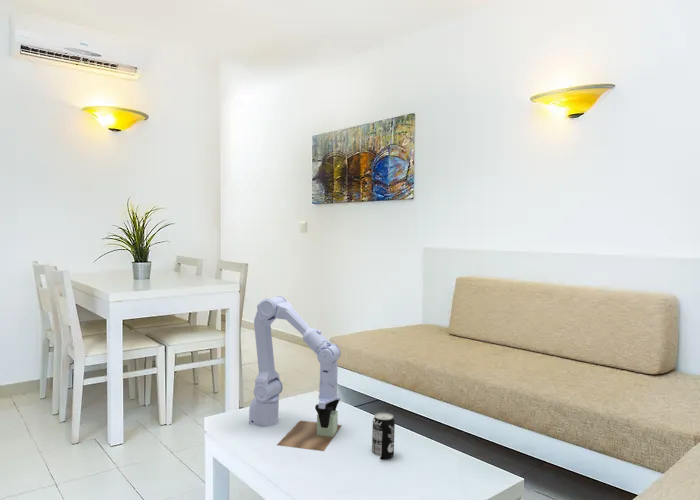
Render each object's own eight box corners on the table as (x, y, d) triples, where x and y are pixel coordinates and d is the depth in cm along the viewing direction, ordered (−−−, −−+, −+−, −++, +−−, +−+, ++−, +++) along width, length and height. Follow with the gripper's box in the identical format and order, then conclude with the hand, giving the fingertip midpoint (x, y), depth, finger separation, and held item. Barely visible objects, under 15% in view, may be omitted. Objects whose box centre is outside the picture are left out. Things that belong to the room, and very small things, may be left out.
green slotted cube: (316, 435, 166) (317, 414, 166) (321, 428, 171) (322, 409, 171) (332, 436, 165) (333, 416, 164) (337, 430, 170) (337, 410, 170)
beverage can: (393, 451, 158) (395, 412, 157) (393, 461, 151) (394, 420, 151) (372, 450, 158) (373, 411, 158) (371, 459, 152) (372, 419, 151)
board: (276, 448, 157) (276, 445, 157) (300, 423, 179) (300, 420, 179) (323, 455, 154) (323, 451, 154) (341, 428, 175) (342, 425, 175)
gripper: (334, 389, 160) (333, 433, 160) (345, 377, 174) (344, 417, 174) (312, 387, 161) (311, 430, 162) (325, 375, 175) (324, 415, 176)
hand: (327, 423), depth 168 cm, fingers open, 6 cm apart
